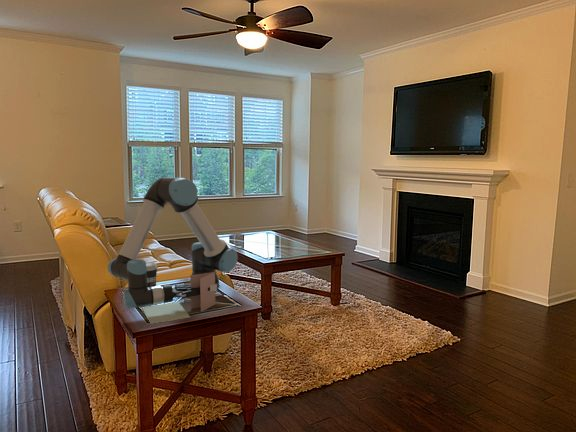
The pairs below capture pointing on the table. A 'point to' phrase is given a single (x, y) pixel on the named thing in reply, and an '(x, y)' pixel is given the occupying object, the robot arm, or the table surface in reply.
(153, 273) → the coffee cup
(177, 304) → the mat
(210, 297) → the greeting card
